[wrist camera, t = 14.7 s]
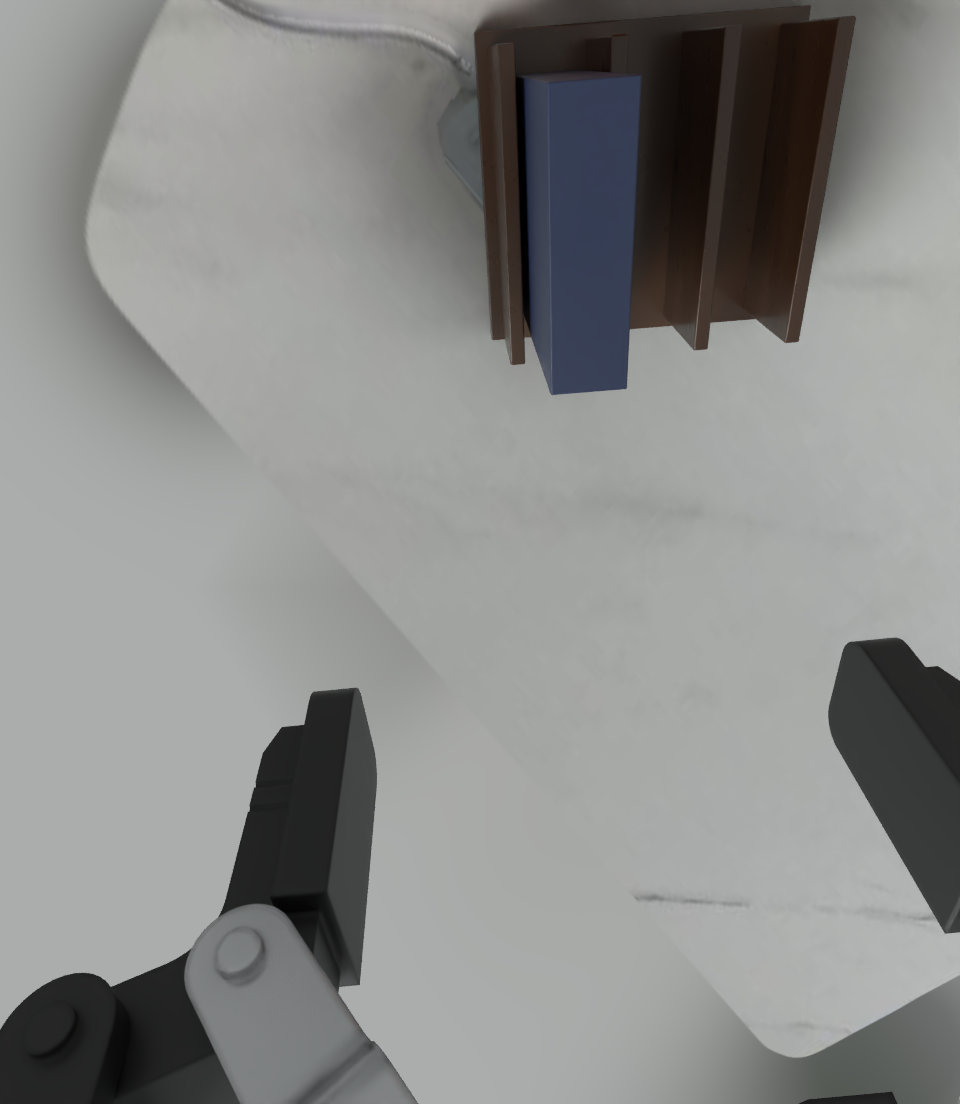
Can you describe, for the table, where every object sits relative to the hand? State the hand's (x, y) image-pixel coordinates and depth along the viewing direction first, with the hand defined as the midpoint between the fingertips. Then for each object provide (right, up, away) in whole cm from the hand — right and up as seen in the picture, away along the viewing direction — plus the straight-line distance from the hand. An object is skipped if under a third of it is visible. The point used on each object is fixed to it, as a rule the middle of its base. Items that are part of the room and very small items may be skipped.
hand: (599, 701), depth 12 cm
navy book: (+1, +18, +19) cm, 26 cm away
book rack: (+5, +18, +20) cm, 28 cm away
